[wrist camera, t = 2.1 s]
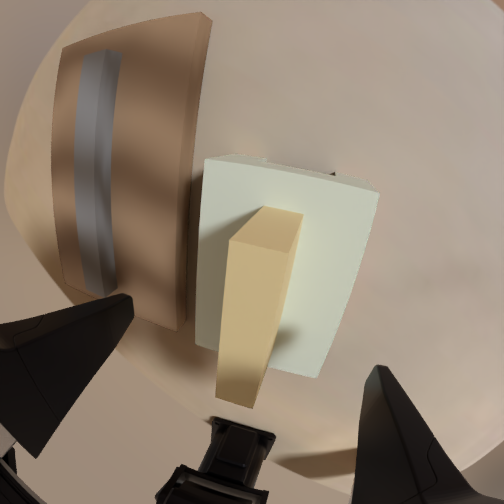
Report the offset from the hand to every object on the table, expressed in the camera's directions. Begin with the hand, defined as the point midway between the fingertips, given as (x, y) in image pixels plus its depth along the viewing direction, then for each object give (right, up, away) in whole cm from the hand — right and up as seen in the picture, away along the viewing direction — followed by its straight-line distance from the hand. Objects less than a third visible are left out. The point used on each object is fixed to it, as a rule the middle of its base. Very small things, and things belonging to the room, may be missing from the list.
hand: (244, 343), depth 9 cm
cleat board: (-9, +8, +8) cm, 15 cm away
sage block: (+2, +3, +7) cm, 8 cm away
